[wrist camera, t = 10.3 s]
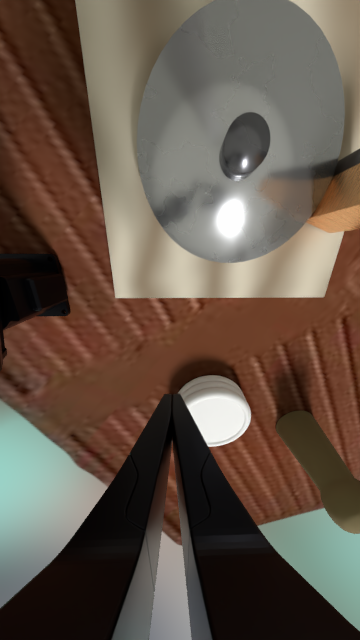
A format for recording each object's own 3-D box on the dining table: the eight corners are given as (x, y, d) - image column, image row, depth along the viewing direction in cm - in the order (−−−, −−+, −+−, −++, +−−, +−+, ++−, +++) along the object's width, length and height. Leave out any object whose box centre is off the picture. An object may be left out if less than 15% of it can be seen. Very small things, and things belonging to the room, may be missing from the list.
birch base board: (120, 294, 19) (93, 313, 13) (78, -36, 11) (-37, -380, 5) (313, 294, 20) (375, 311, 13) (402, -23, 12) (647, -322, 6)
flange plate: (120, 227, 15) (90, 211, 10) (177, -40, 10) (178, -365, 5) (293, 294, 18) (344, 310, 12) (404, 106, 13) (570, -1, 7)
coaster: (162, 391, 24) (160, 413, 21) (225, 361, 23) (234, 379, 20) (194, 433, 28) (197, 457, 24) (252, 409, 26) (263, 431, 23)
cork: (298, 404, 26) (382, 504, 15) (321, 422, 27) (411, 524, 17) (267, 427, 27) (324, 532, 17) (291, 442, 29) (356, 548, 18)
